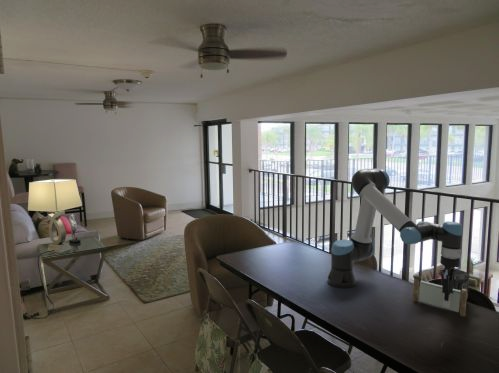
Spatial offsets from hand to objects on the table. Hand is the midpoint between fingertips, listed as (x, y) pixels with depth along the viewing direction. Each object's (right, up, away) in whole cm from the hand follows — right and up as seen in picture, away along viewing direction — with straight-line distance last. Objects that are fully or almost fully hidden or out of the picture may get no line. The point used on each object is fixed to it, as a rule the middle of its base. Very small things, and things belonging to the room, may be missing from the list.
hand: (446, 306), depth 159 cm
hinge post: (-8, -2, +14) cm, 16 cm away
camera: (+12, -2, +14) cm, 19 cm away
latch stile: (+7, -4, -1) cm, 8 cm away
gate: (0, -2, +7) cm, 7 cm away
